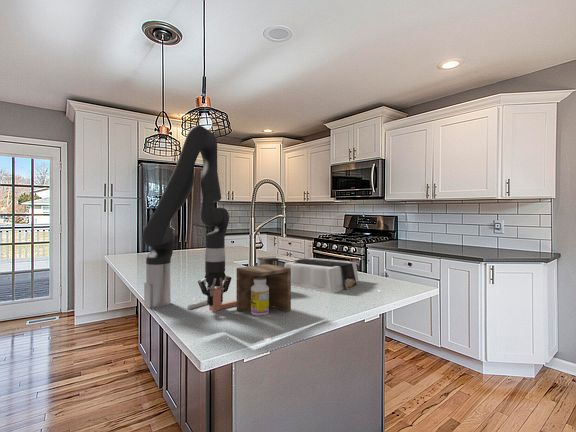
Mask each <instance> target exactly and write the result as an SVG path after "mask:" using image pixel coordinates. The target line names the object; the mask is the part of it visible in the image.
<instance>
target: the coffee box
mask: <svg viewBox="0 0 576 432" xmlns="http://www.w3.org/2000/svg"><path fill="white" fill-rule="evenodd" d="M264 264H270V265H275V266H280V264H279V258H278V257H275V256H274V257H273V256H272V257H257V265H264Z"/></svg>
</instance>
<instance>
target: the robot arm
mask: <svg viewBox="0 0 576 432" xmlns="http://www.w3.org/2000/svg"><path fill="white" fill-rule="evenodd" d="M183 143H184V144H183V146H182V148H181V152H180V155H179V157H178V159H177V162H176V164H175V167H174V169H173V172H172V173H171V176H170V178H169V180H168V182H167V184H166V186H165V187H164V191H163V193H162V195H161V197H160V199H159V202H158V204H157V206H156V208H155V211H154V212H153V214H152V216H151V217H150V219H149V220H148V223H147V224H146V226H145V227H144V229H143V232H142V241H143V244H145V245H146V246H147V247H149V248H150V251H149V253H148V255H147V256H146V260H145V280H146V281H145V282H144V286H143V287H144V289H143V294H144V295H143V300H144V301H143V303H144V304H143V305H144V306H145V307H147V308H149V309H153V308H154V309H157V308H164V307H167V306H168V307H169V306H170V305H171V304H172V303H171V302H172V301H171V300H172V299H171V297H172V295H171V283H172V282H171V277H172V276H171V274H172V273H171V270H172V269H171V266H172V265H171V261H172V256H173V251H174V249H173V248H174V233H173V230H172V229H173V228H172V227H171V226H170V222H171V221H172V219H173V217H174V216H175V215H176V213H177V212H178V211H179V210H180V208H182V207H183V205H185V202H186V201H187V200H188V198H189V196H190V194H191V192H192V189H193V187H194V181H195V166H196V162H197V158H198V157H199V154H201V158H202V163H203V164H202V165H203V167H202V173H201V175H200V176H201V177H200V188H201V194H202V201H201V202H202V203H201V213H200V219H201V221H202V223H203V225H205V226H207V227H214V229H213V231H210V232H208V233H206V235H205V251H204V252H205V253H204V268H205V269H204V271H205V276H204V278H202V279H199V280H198V281H197V283H198V286H199V288H200V290H201V293H202V295H205V296H207V297H206V298H207V299H206V300H207V303H208V304H207V305H208V307H209V306H213V290H214V289H215V288H219V289H221V304H223V303H224V302H223V299H224V297H223V296H224V293H228V290H229V287H230V285H231V281H232V277H231V276H229V275H226V249H225V245H226V244H225V239H226V238H225V237H226V233H227V229H228V225H229V222H230V214H229V211H228V210H227V209H226V208H225V207H214V204H215V203H218V202H220V201H221V200H222V193H221V192H222V191H221V186H220V185H221V184H220V181H219V173H218V171H219V170H218V140H217V136H216V135H215V134H214V133H213V132H211V131H210V130H208V128H205V127H204V126H202V125H199V124H198V125H195V126H193V127H191V129H190V130H189V131H188V133H187V134H186V137H185V140H184V142H183ZM206 284H207V286H206Z"/></svg>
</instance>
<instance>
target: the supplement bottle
mask: <svg viewBox="0 0 576 432" xmlns="http://www.w3.org/2000/svg"><path fill="white" fill-rule="evenodd" d="M269 311H270V306H269V287H268V286H267V285H266V278H254V285H253V286H252V287H251V309H250V314H251V315H253V316H256V317H259V316H261V317H262V316H266V315H268V314H269Z"/></svg>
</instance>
